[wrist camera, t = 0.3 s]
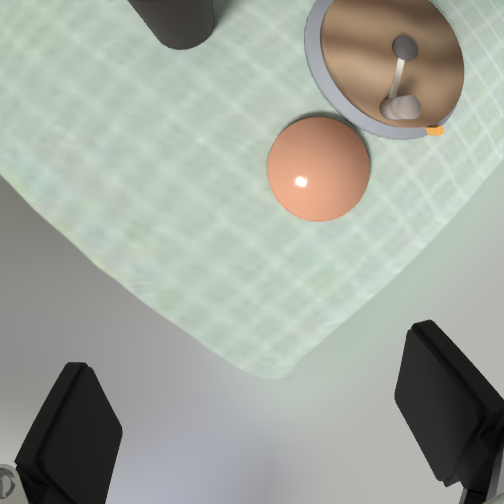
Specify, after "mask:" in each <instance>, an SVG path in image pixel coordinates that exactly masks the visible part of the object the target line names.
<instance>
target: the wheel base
mask: <svg viewBox="0 0 504 504" xmlns="http://www.w3.org/2000/svg"><path fill="white" fill-rule="evenodd" d="M333 1H334V0H317V1H316V3H315V4H314V6H313V7H312V9H311V11H310V13H309V16H308V18H307V21H306V26H305V33H304V46H305V54H306V59H307V63H308V66H309V69H310V71H311V74H312V76H313V78H314V80H315V82H316V84H317V86H318V88H319V89H320V91H321V92H322V94H323V96H324V97H325V98H326V99H327V101H328V102H329V103H330V104H331V106H332V107H333V108H334V109H335V110H336V111H337V112H338V113H339V114H340V115H342V116H343V117H344V118H345V119H347V120H348V121H349V122H351V123H352V124H354V125H355V126H357V127H358V128H360V129H362V130H364V131H366V132H368V133H370V134H373V135H376V136H379V137H384V138H389V139H399V140H408V139H416V138H420V137H424V136H426V135H438V136H439V135H441V134H443V133H444V130H443V127H442V125H443V124H444V123H445V122H446V121H447V120H448V119H449V117H450V116H451V114H452V113H453V111H454V109H455V107H456V105H457V103H456V105H455V107H454V108H453V109H452V111H451V112H450V113H449V114H448V115H447V116H446V117H445V118H444V119H442V120H440V121H439V122H437V123H435V124H432V125H430V126H425V127H420V128H402V127H394V126H389V125H386V124H383V123H380V122H377V121H376V120H374V119H372V118H370V117H368V116H366V115H365V114H363V113H362V112H360V111H359V110H358V109H357V108H355V107H354V106H353V105H352V104H351V103H350V102H349V101H348V100H347V99H346V98H345V97H344V96H343V95H342V93H341V92H340V91H339V90H338V88H337V87H336V85H335V84H334V82H333V80H332V79H331V77H330V75H329V73H328V71H327V69H326V66H325V63H324V60H323V57H322V52H321V47H320V28H321V24H322V20H323V17H324V14H325V12H326V10H327V9H328V7H329V6H330V4H331V3H332V2H333Z"/></svg>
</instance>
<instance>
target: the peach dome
mask: <svg viewBox="0 0 504 504" xmlns="http://www.w3.org/2000/svg"><path fill="white" fill-rule="evenodd" d="M369 174H370V164H369V158H368V154H367V151H366V148H365V146H364V144H363V142H362V141H361V139H360V138H359V137H358V135H357V134H356V133H355V132H354V131H353V130H352V129H351V128H349V127H348V126H347V125H345V124H343V123H342V122H339V121H337V120H334V119H331V118H325V117H312V118H306V119H303V120H300V121H297V122H295V123H293V124H291V125H290V126H288V127H287V128H286V129H284V130H283V131H282V132H281V133H280V134H279V136H278V137H277V138H276V140H275V141H274V143H273V145H272V147H271V149H270V152H269V155H268V160H267V177H268V182H269V185H270V188H271V190H272V192H273V194H274V196H275V197H276V199H277V200H278V201H279V203H280V204H281V205H282V206H283V207H284V208H285V209H286V210H287V211H289V212H290V213H292V214H293V215H295V216H297V217H299V218H302V219H304V220H309V221H317V222H320V221H329V220H333V219H336V218H338V217H340V216H342V215H344V214H346V213H347V212H349V211H350V210H351V209H352V208H354V206H355V205H356V204H357V203H358V202H359V201H360V199H361V198H362V196H363V194H364V192H365V190H366V187H367V184H368V181H369Z"/></svg>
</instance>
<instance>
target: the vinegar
mask: <svg viewBox="0 0 504 504" xmlns="http://www.w3.org/2000/svg"><path fill="white" fill-rule="evenodd" d="M128 1H129V3H130V4H131V5H132V6H133V8H134V9H135V10H136V12H137V13H138V14H139V15H140V17H141V18H142V19H143V20H144V22H145V23H146V24H147V26H148V27H149V28H150V29H151V31H152V32H153V33H154V35H155V36H156V37H157V38H158V40H159V41H160V42H161V43H162V44H163V45H165V46H167V47H169V48H172V49H177V50H182V49H190V48H193V47H196V46H198V45H199V44H201V43H202V42H204V41H205V40H206V39H207V38H208V36H209V35H210V34H211V32H212V30H213V27H214V12H213V4H212V0H128Z"/></svg>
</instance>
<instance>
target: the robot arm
mask: <svg viewBox="0 0 504 504" xmlns="http://www.w3.org/2000/svg"><path fill="white" fill-rule="evenodd" d="M395 401H396V404H397V405H398V407H399V409H400V411H401V413H402V415H403V417H404V418H405V420H406V422H407V424H408V426H409V428H410V429H411V431H412V433H413V435H414V437H415V439H416V441H417V442H418V444H419V446H420V448H421V450H422V452H423V454H424V455H425V458H426V459H427V461H428V463H429V465H430V467H431V469H432V471H433V473H434V475H435V477H436V479H437V480H438V481H443V483H444V485H445V487H448V486H450V485H452V484H454V483H456V482H459V481H460V482H461V484H462V485H463V487H464V488H463V492H462V495H461V498H460V502H459V504H504V399H503V398H502V397H501V396H500V395H499V393H498V392H497V391H496V390H495V389H494V388H493V386H492V385H491V384H490V383H489V382H488V381H487V379H486V378H485V377H484V376H483V375H482V374H481V373H480V371H479V370H478V369H477V368H476V367H475V366H474V365H473V364H472V362H471V361H470V360H469V359H468V358H467V357H466V356H465V355H464V354H463V352H461V350H460V349H459V348H458V347H457V346H456V345H455V344H454V343H453V342H452V340H451V339H450V338H449V337H448V336H447V335H446V334H445V333H444V332H443V331H442V330H441V329H440V328H439V327H438V326H437V325H436V324H435V322H433V321H432V320H426V321H422V322H418V323H414V324H413V325H412V327H411V329H410V330H408V332H407V336H406V341H405V346H404V352H403V357H402V362H401V367H400V372H399V376H398V381H397V385H396V389H395ZM121 438H122V426H121V424H120V422H119V420H118V419H117V417H116V415H115V413H114V411H113V409H112V407H111V405H110V403H109V401H108V399H107V397H106V396H105V393H104V392H103V389H102V387H101V385H100V383H99V381H98V379H97V377H96V375H95V373H94V370H93V369H92V368H91V367H88V365H87V364H86V363H83V362H69V363H67V364H66V365H65V367H64V369H63V370H62V372H61V374H60V375H59V377H58V379H57V380H56V382H55V384H54V386H53V387H52V389H51V391H50V393H49V395H48V397H47V398H46V400H45V402H44V404H43V406H42V407H41V409H40V411H39V413H38V415H37V417H36V419H35V420H34V423H33V424H32V426H31V428H30V430H29V432H28V434H27V436H26V438H25V440H24V442H23V444H22V446H21V449H20V450H19V452H18V455H17V457H16V459H15V461H14V462H15V463H16V464H17V467H16V469H14V468H13V467H12V466H10V465H7V464H0V504H105V502H106V498H107V493H108V489H109V485H110V481H111V477H112V473H113V469H114V465H115V461H116V457H117V454H118V450H119V446H120V442H121Z"/></svg>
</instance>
